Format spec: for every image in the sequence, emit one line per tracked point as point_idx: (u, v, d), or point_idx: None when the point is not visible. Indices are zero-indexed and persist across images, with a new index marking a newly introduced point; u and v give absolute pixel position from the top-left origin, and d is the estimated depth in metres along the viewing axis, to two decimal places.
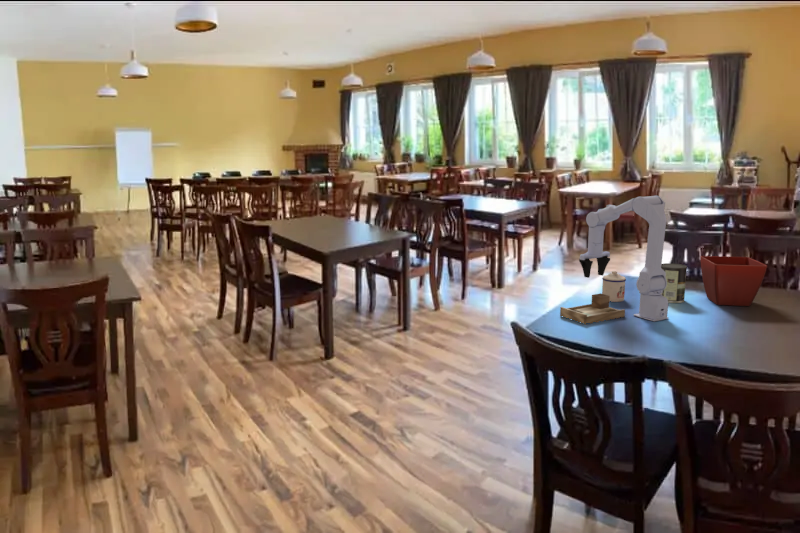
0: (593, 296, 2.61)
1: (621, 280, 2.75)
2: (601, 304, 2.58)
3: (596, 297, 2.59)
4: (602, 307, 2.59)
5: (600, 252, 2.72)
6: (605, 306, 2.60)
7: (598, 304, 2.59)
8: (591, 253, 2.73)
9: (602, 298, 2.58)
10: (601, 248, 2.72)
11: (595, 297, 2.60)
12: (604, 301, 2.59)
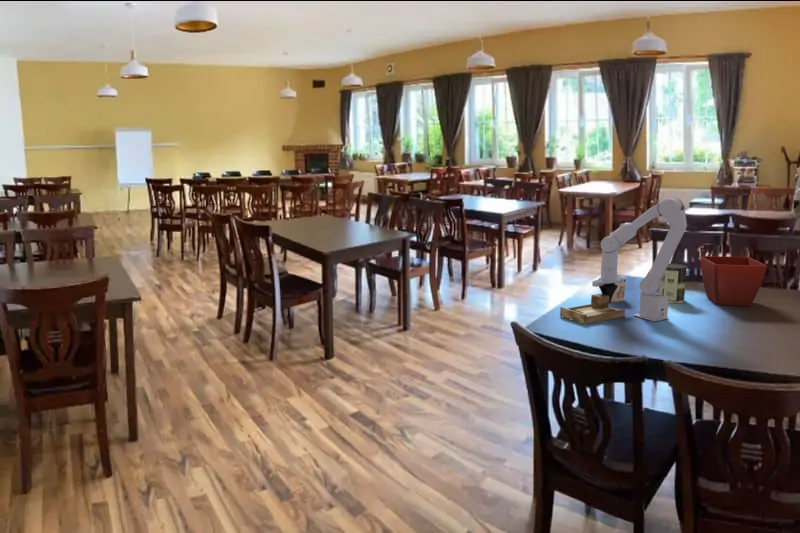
0: (593, 296, 2.61)
1: None
2: (600, 304, 2.58)
3: (596, 297, 2.59)
4: (602, 307, 2.59)
5: (614, 278, 2.59)
6: (605, 306, 2.59)
7: (597, 304, 2.59)
8: (604, 279, 2.59)
9: (602, 298, 2.58)
10: (615, 274, 2.59)
11: (595, 297, 2.60)
12: (603, 301, 2.59)
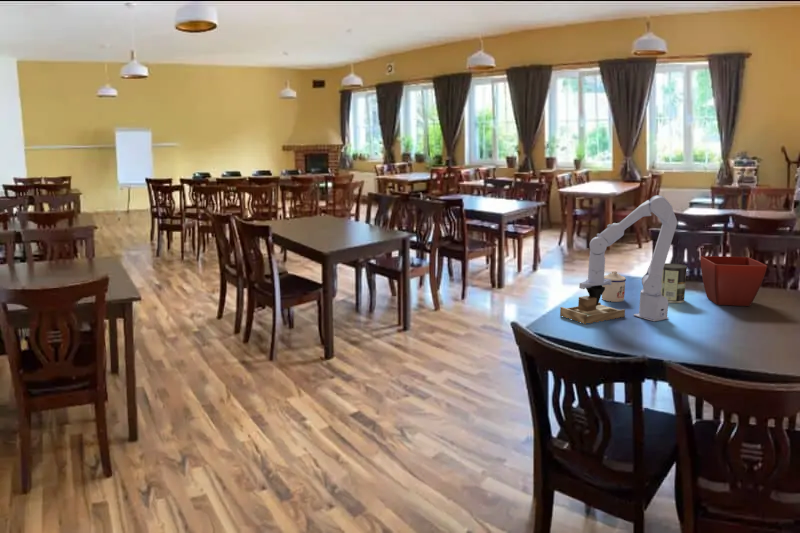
0: (580, 298, 2.57)
1: (621, 280, 2.75)
2: (587, 306, 2.55)
3: (583, 299, 2.56)
4: (589, 309, 2.55)
5: (601, 280, 2.55)
6: (592, 308, 2.56)
7: (585, 307, 2.56)
8: (592, 281, 2.56)
9: (589, 300, 2.55)
10: (602, 276, 2.55)
11: (582, 299, 2.56)
12: (590, 304, 2.55)
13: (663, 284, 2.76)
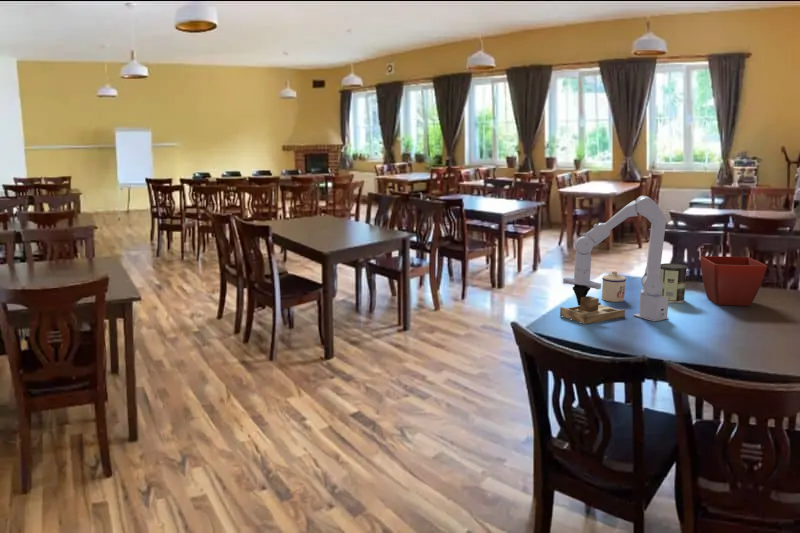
0: (582, 299, 2.56)
1: (621, 280, 2.75)
2: (590, 307, 2.54)
3: (585, 300, 2.55)
4: (591, 310, 2.55)
5: (578, 280, 2.56)
6: (594, 309, 2.55)
7: (587, 307, 2.55)
8: None
9: (591, 301, 2.54)
10: (579, 276, 2.56)
11: (584, 300, 2.56)
12: (593, 304, 2.55)
13: (663, 284, 2.76)
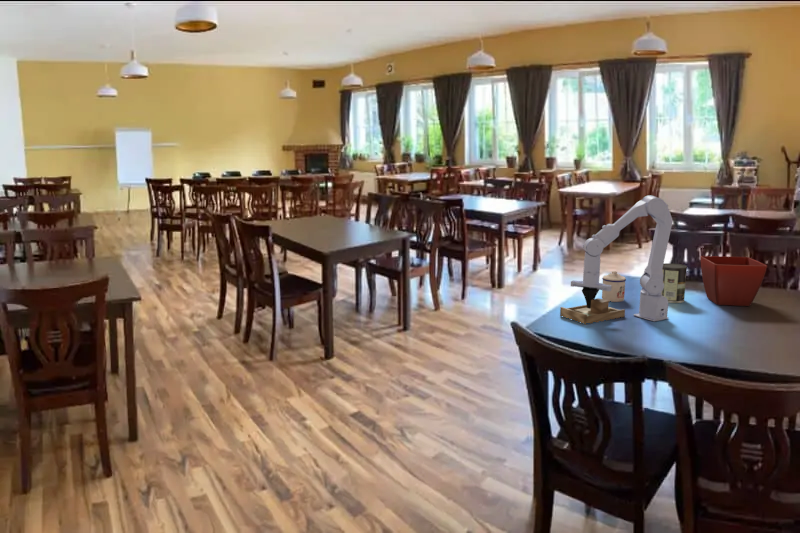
0: (593, 301, 2.52)
1: (621, 280, 2.75)
2: (602, 309, 2.50)
3: (596, 302, 2.51)
4: (602, 312, 2.51)
5: (588, 282, 2.52)
6: (605, 311, 2.52)
7: (598, 310, 2.51)
8: (582, 281, 2.55)
9: (603, 303, 2.50)
10: (589, 278, 2.52)
11: (595, 302, 2.52)
12: (604, 307, 2.51)
13: None
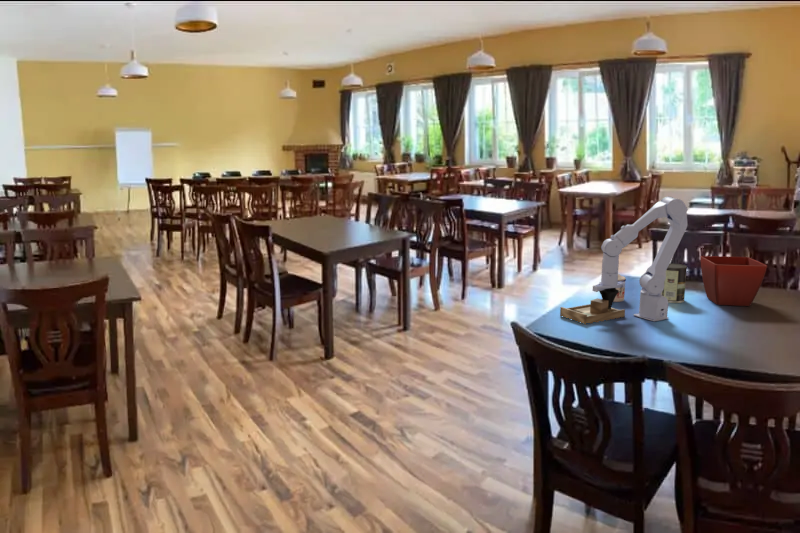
0: (592, 302, 2.52)
1: (621, 280, 2.75)
2: (601, 309, 2.50)
3: (596, 303, 2.51)
4: None
5: (615, 283, 2.51)
6: (605, 311, 2.52)
7: (598, 310, 2.51)
8: (605, 284, 2.51)
9: (602, 303, 2.50)
10: (616, 279, 2.51)
11: (594, 303, 2.52)
12: (604, 307, 2.51)
13: None
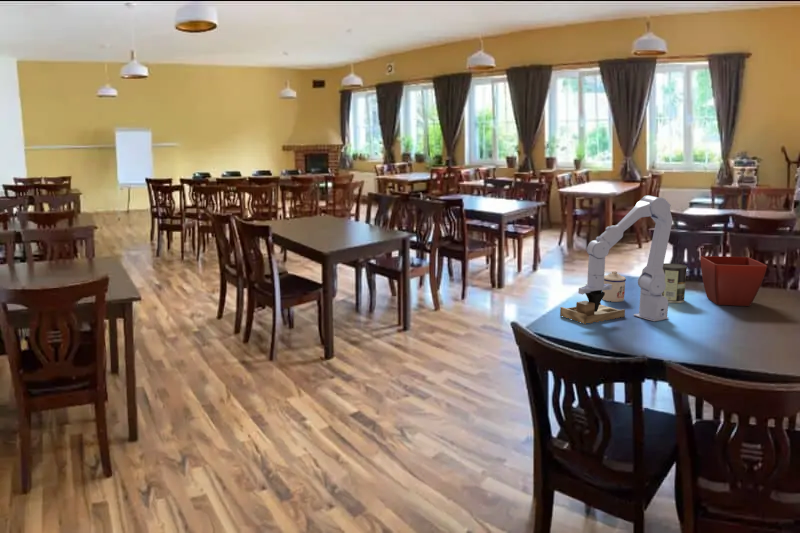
0: (578, 303, 2.50)
1: (621, 280, 2.75)
2: (585, 311, 2.47)
3: (581, 304, 2.49)
4: (587, 315, 2.48)
5: (601, 285, 2.47)
6: (590, 314, 2.49)
7: (583, 312, 2.48)
8: (591, 286, 2.48)
9: (587, 306, 2.47)
10: (602, 281, 2.47)
11: (580, 304, 2.49)
12: (589, 309, 2.48)
13: None
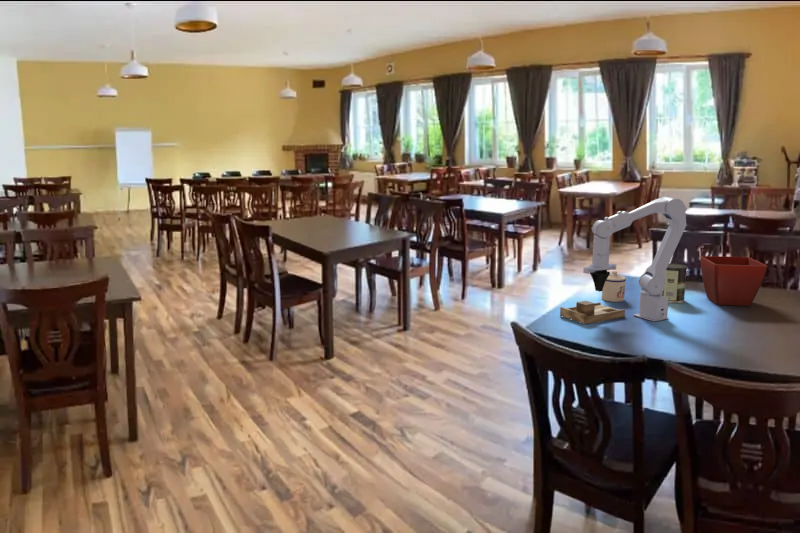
0: (578, 303, 2.50)
1: (621, 280, 2.75)
2: (585, 311, 2.47)
3: (581, 304, 2.49)
4: (587, 315, 2.48)
5: (606, 265, 2.49)
6: (590, 314, 2.49)
7: (583, 312, 2.48)
8: (596, 266, 2.49)
9: (587, 306, 2.47)
10: (607, 260, 2.49)
11: (580, 304, 2.49)
12: (589, 309, 2.48)
13: None
